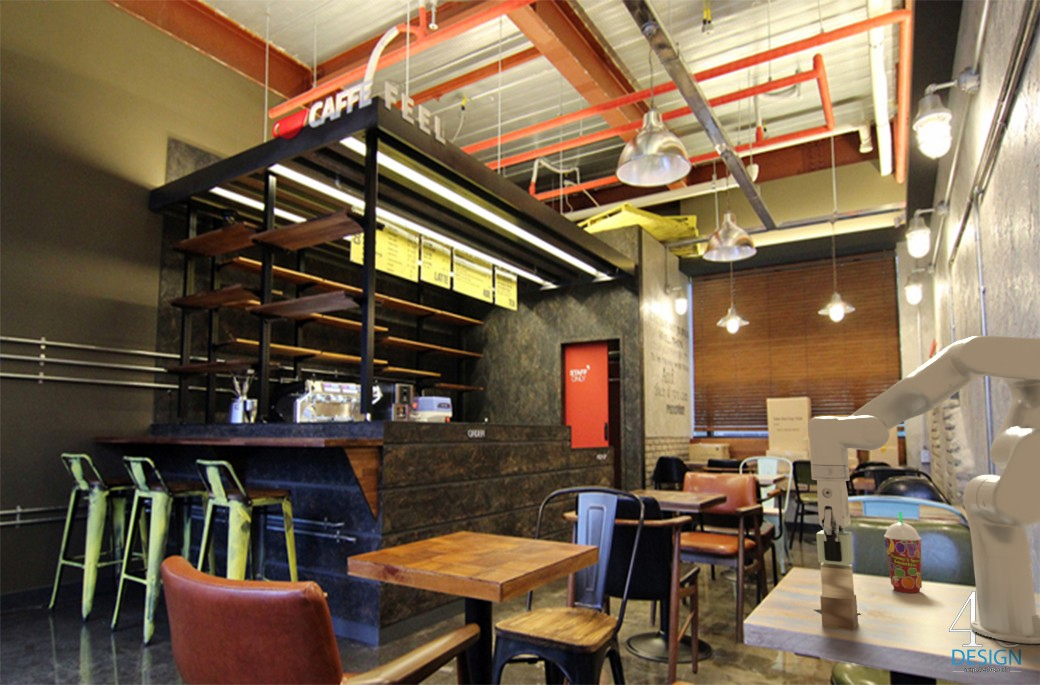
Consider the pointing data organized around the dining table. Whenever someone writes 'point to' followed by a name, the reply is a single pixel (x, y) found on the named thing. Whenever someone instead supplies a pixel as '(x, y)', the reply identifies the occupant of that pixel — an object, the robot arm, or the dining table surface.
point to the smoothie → (904, 557)
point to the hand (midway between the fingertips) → (836, 557)
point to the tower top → (837, 581)
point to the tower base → (839, 613)
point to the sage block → (845, 548)
